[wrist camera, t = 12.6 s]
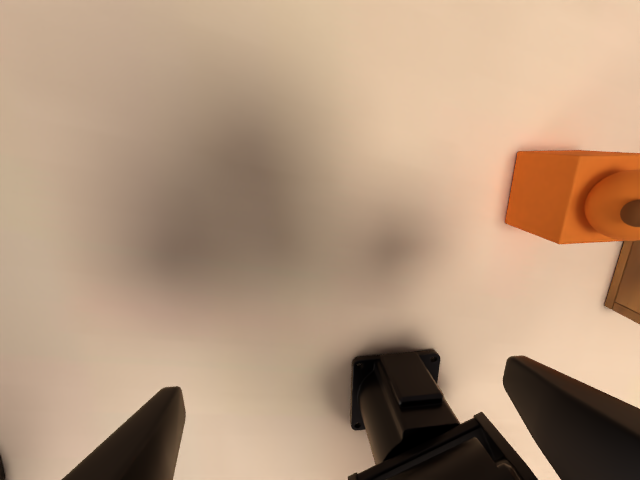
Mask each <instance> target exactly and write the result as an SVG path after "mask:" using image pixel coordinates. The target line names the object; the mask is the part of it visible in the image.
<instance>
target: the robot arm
mask: <svg viewBox="0 0 640 480" xmlns="http://www.w3.org/2000/svg"><path fill="white" fill-rule="evenodd" d="M432 357H434V358H432ZM431 358H432V359H431ZM359 363H362V364H361V365H357V364H359ZM439 364H440V356H439V355H438V353H437V352H436V351H434V350H429V351H418V352H406V353H394V354H383V355H371V356H360V357H356V358H354V359H353V361H352V374H351V412H350V423H351V427H352V429H353V430H365V429H366V432H367V436H368V439H369V443H370V446H371V450H372V453H373V457H374V460H375V464H376V465H375V466H373V467H371V468H369V469H367V470H365V471H363V472H361V473H358V474H357V473H354V474H352V475H350V476H348V480H538V479H537V478H536V476H535V475H534V473H533V472H532V471H531V469H530V468H529V467H528V466H527V464H526V463H525V462H524V461H523V460H522V458H521V457H520V456H519V455H518V454H517V452H516V451H515V450H514V449H513V448H512V447H511V445H510V444H509V443H508V442H507V441H506V439H505V438H504V437H503V436H502V435H501V434H500V432H499V431H498V430H497V429H496V428H495V427H494V425H493V424H492V423H491V422H490V421H489V419H488V418H487V417H486V416H485V415H484V414H483V412H480V413H478V414H476V415H474V418H472V419H470V420H468V421H466V422H464V423H462V424H460V422H459V421H458V419H457V418H456V416H455V414H454V413H453V411H452V409H451V408H450V406H449V405H448V403H447V401H446V400H445V398H444V396H443V393H442V392H441V390H440V388H439V387H438V385H437V380H438V372H439ZM503 385H504V388H505V390H506V392H507V394H508V395H509V397H510V399H511V401H512V402H513V404H514V406H515V408H516V409H517V411H518V413H519V415H520V416H521V418H522V420H523V422H524V423H525V425H526V427H527V428H528V430H529V432H530V434H531V435H532V437H533V439H534V440H535V442H536V444H537V445H538V447H539V448H540V450H541V451H542V453H543V454H544V455H545V457H546V458H547V460H548V461H549V463H550V464H551V466H552V467H553V469H554V470H555V471H556V473H557V474H558V476H559V477H560V479H561V480H640V409H639V408H637V407H634V406H632V405H630V404H628V403H626V402H624V401H621V400H619V399H617V398H615V397H613V396H611V395H608V394H606V393H604V392H602V391H600V390H598V389H595V388H593V387H591V386H589V385H587V384H584V383H582V382H580V381H578V380H576V379H574V378H571V377H569V376H567V375H565V374H563V373H561V372H558V371H556V370H554V369H552V368H550V367H548V366H545V365H543V364H541V363H539V362H537V361H534V360H532V359H530V358H528V357H526V356H511V357H509V358H508V359H507V362H506V366H505V371H504V376H503ZM185 417H186V412H185V406H184V400H183V395H182V390H181V388H180V387H178V386H176V387H165V388H163V389H161V390H160V391H159V392H158V393H157V394H156V395H154V396H153V397H152V398H151V399H150V400H149V401H148V402H147V403H146V404H145V405H143V406H142V407H141V408H140V409H139V410H138V411H137V412H136V413H135V414H134V415H132V416H131V417H130V418H129V419H128V420H127V421H126V422H125V423H124V424H122V425H121V426H120V427H119V428H118V429H117V430H116V431H115V432H114V433H113V434H111V435H110V436H109V437H108V438H107V439H106V440H105V441H104V442H103V443H102V444H100V445H99V446H98V447H97V448H96V449H95V450H94V451H93V452H92V453H91V454H89V455H88V456H87V457H86V458H85V459H84V460H83V461H82V462H81V463H80V464H78V465H77V466H76V467H75V468H74V469H73V470H72V471H71V472H70V473H69V474H67V475H66V476H65V477H64V478H63V479H62V480H173V476H174V472H175V467H176V462H177V457H178V452H179V448H180V443H181V438H182V433H183V428H184V424H185Z"/></svg>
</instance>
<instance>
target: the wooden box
mask: <svg viewBox="0 0 640 480" xmlns="http://www.w3.org/2000/svg"><path fill="white" fill-rule="evenodd" d="M605 306H606V307H608V308H610V309H613V310H614V311H615V312H617V313H619V314H621V315H623V316H625V317H627V318H629V319H631V320H633V321H634V322H636V323H638V324H640V240H637V241H624V243H623V247H622V250H621V253H620V257H619V260H618V263H617V266H616V270H615V273H614V276H613V279H612V283H611V286H610V289H609V292H608V296H607V299H606V302H605Z"/></svg>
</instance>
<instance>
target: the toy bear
mask: <svg viewBox="0 0 640 480" xmlns="http://www.w3.org/2000/svg"><path fill="white" fill-rule="evenodd" d="M505 223H506V224H509V225H511V226H514V227H516V228H519V229H522V230H524V231H527V232H529V233H532V234H534V235H537V236H540V237H542V238H545V239H547V240H550V241H552V242H555V243H558V244H572V243H591V242H610V241H637V240H640V153H622V152H602V151H581V150H571V151H519V152H518V153H517V158H516V164H515V170H514V175H513V181H512V187H511V192H510V198H509V204H508V209H507V215H506V220H505Z"/></svg>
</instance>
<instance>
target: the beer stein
mask: <svg viewBox="0 0 640 480" xmlns="http://www.w3.org/2000/svg"><path fill="white" fill-rule="evenodd" d="M4 479H5V475H4V471H3V467H2V463H1V459H0V480H4Z"/></svg>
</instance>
